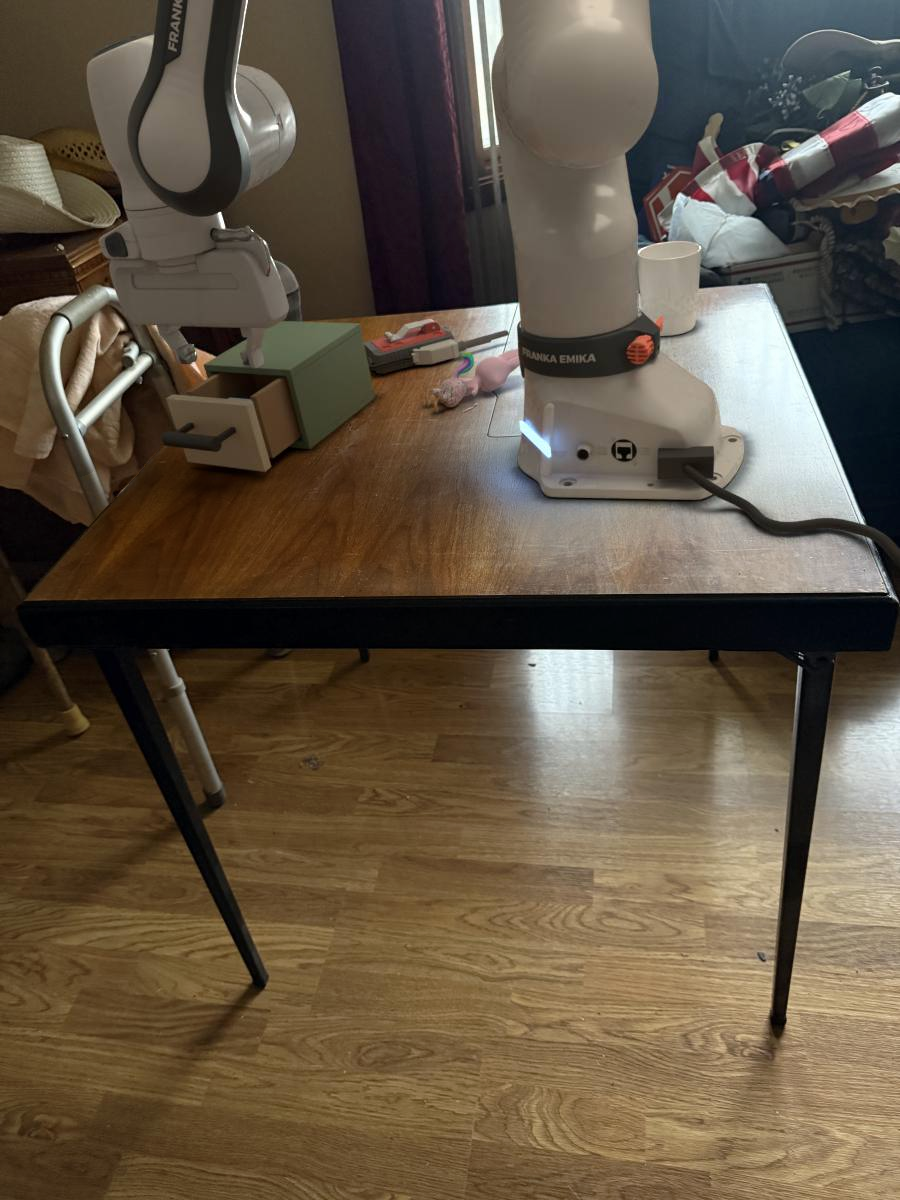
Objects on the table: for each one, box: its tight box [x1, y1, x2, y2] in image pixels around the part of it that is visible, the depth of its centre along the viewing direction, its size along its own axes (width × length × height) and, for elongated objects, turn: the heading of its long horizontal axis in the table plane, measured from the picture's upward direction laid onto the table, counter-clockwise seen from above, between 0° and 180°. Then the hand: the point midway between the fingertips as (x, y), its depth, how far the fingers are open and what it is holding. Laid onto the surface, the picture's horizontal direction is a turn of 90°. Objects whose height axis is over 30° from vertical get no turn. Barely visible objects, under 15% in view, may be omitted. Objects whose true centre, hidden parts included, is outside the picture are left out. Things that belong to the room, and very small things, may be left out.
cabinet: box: [203, 321, 376, 450], centre depth 106 cm, size 15×13×10 cm
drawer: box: [161, 372, 302, 473], centre depth 99 cm, size 18×11×8 cm, turn 153°
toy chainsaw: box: [364, 318, 510, 375], centre depth 120 cm, size 9×4×20 cm
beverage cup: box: [245, 225, 303, 322], centre depth 116 cm, size 7×7×20 cm
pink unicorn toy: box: [423, 348, 520, 413], centre depth 106 cm, size 6×6×15 cm
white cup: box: [638, 240, 703, 337], centre depth 114 cm, size 8×8×10 cm
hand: (220, 364), depth 95 cm, fingers open, 8 cm apart
